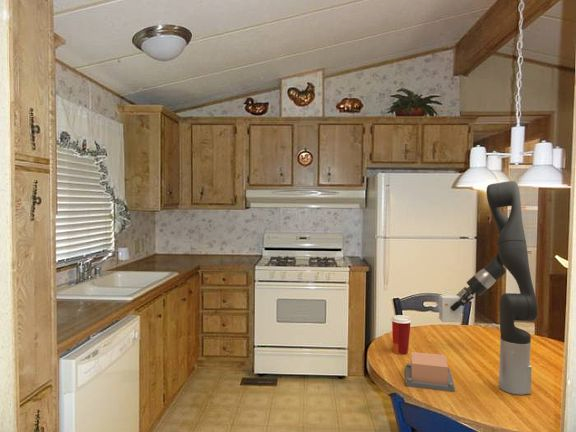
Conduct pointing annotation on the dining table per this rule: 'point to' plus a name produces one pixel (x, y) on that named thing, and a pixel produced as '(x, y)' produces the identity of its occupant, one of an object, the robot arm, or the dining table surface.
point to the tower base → (429, 372)
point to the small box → (446, 311)
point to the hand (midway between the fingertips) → (451, 307)
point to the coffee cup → (400, 333)
